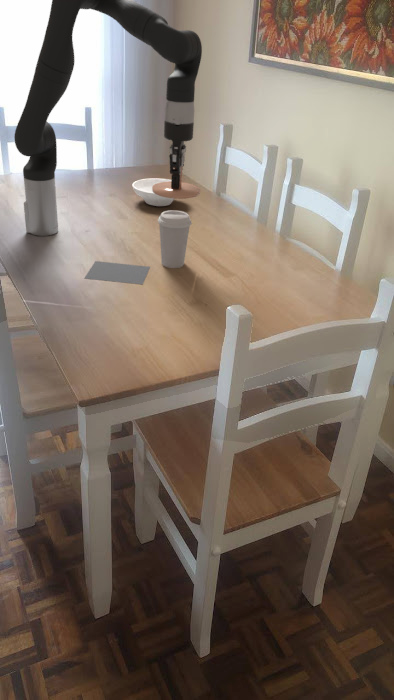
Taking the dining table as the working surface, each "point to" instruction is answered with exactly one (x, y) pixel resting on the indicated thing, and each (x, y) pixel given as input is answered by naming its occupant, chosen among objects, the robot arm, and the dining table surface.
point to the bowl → (145, 191)
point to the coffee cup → (173, 237)
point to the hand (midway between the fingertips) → (176, 186)
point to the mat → (118, 272)
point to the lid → (181, 193)
